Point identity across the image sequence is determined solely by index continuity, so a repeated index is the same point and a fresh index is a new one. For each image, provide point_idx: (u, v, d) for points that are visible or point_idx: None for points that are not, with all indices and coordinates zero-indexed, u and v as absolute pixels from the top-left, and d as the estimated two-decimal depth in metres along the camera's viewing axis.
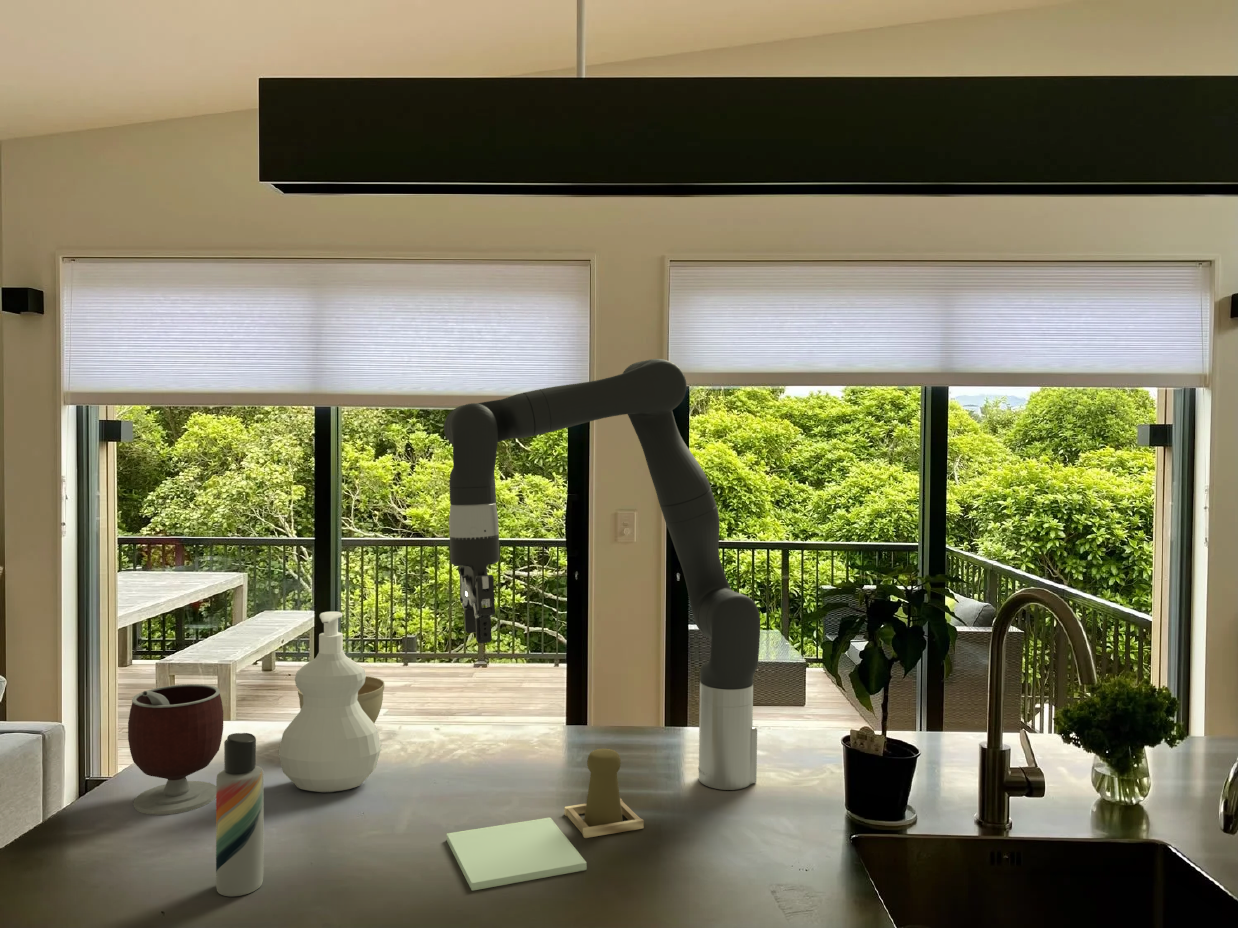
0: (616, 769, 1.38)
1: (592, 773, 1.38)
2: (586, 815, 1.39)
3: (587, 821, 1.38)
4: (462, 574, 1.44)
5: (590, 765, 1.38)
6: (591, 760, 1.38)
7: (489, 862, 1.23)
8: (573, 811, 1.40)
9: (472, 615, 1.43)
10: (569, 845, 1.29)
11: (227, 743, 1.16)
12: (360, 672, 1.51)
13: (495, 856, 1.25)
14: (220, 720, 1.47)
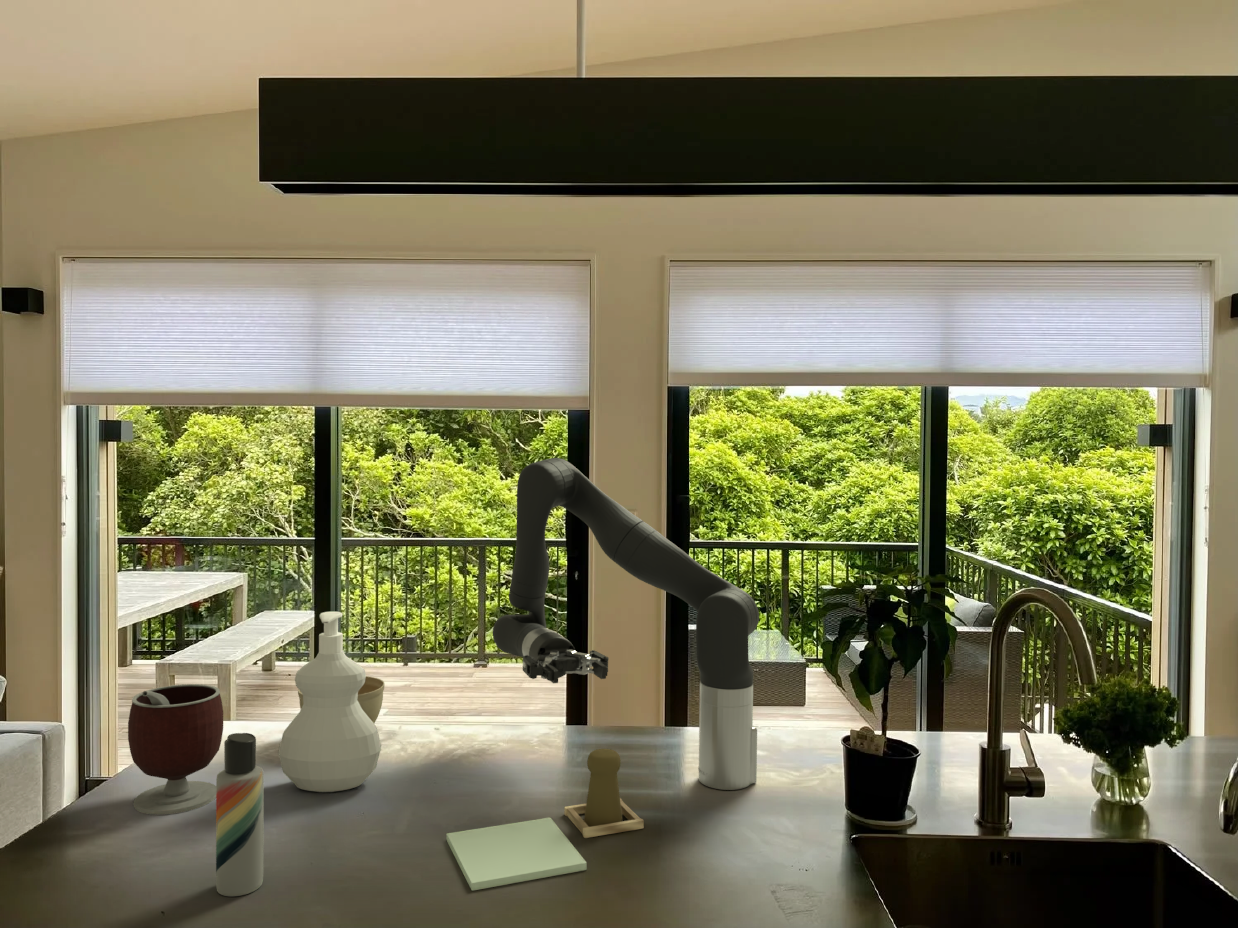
0: (616, 769, 1.38)
1: (592, 773, 1.38)
2: (586, 815, 1.39)
3: (587, 821, 1.38)
4: None
5: (590, 765, 1.38)
6: (591, 760, 1.38)
7: (489, 862, 1.23)
8: (573, 811, 1.40)
9: (596, 668, 1.53)
10: (569, 845, 1.29)
11: (227, 743, 1.16)
12: (360, 672, 1.51)
13: (495, 856, 1.25)
14: (220, 720, 1.47)
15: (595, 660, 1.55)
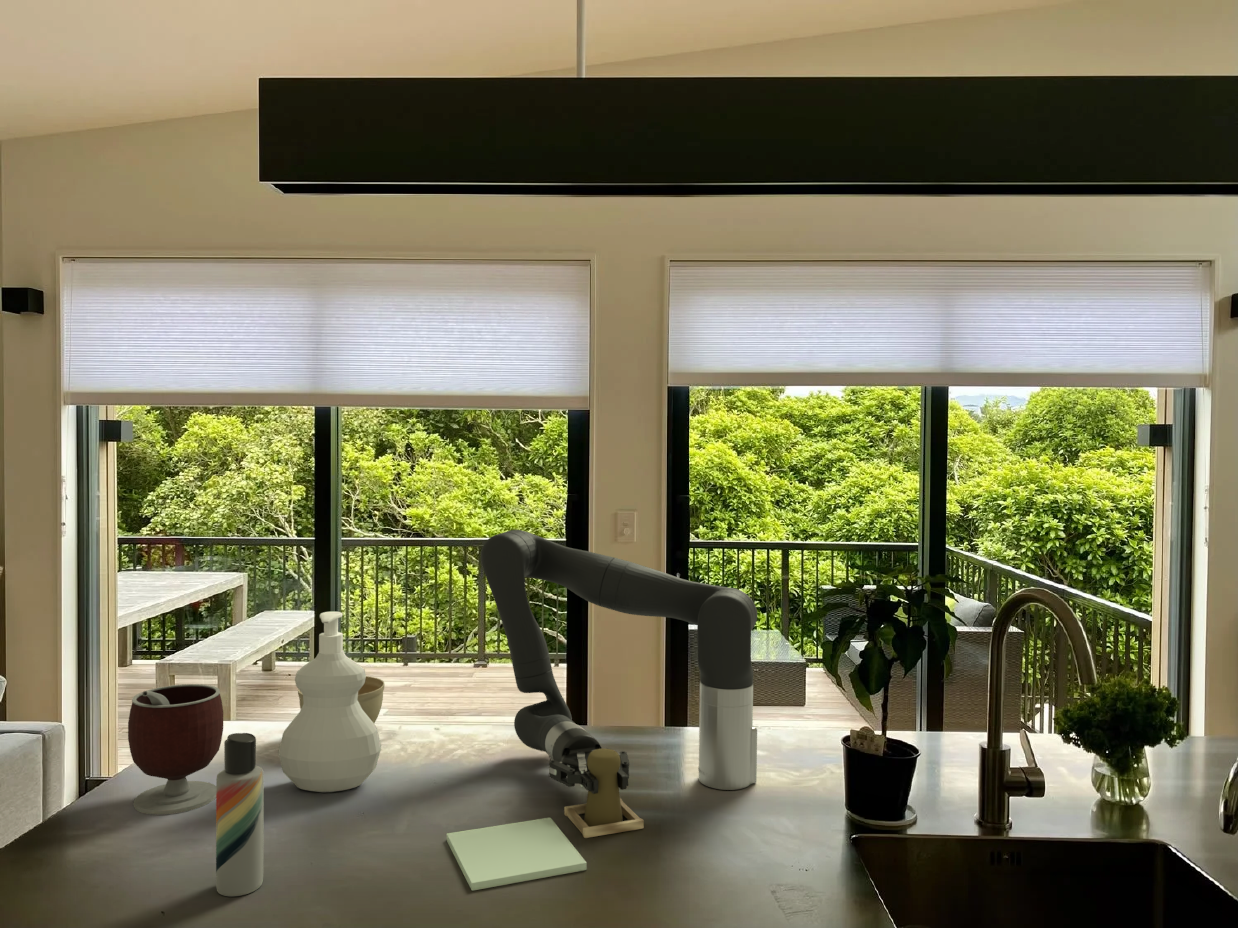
0: (616, 769, 1.38)
1: (592, 773, 1.38)
2: (586, 815, 1.39)
3: (587, 821, 1.38)
4: None
5: (590, 765, 1.38)
6: (591, 760, 1.38)
7: (489, 862, 1.23)
8: (573, 811, 1.40)
9: None
10: (569, 845, 1.29)
11: (227, 743, 1.16)
12: (360, 672, 1.51)
13: (495, 856, 1.25)
14: (220, 720, 1.47)
15: None
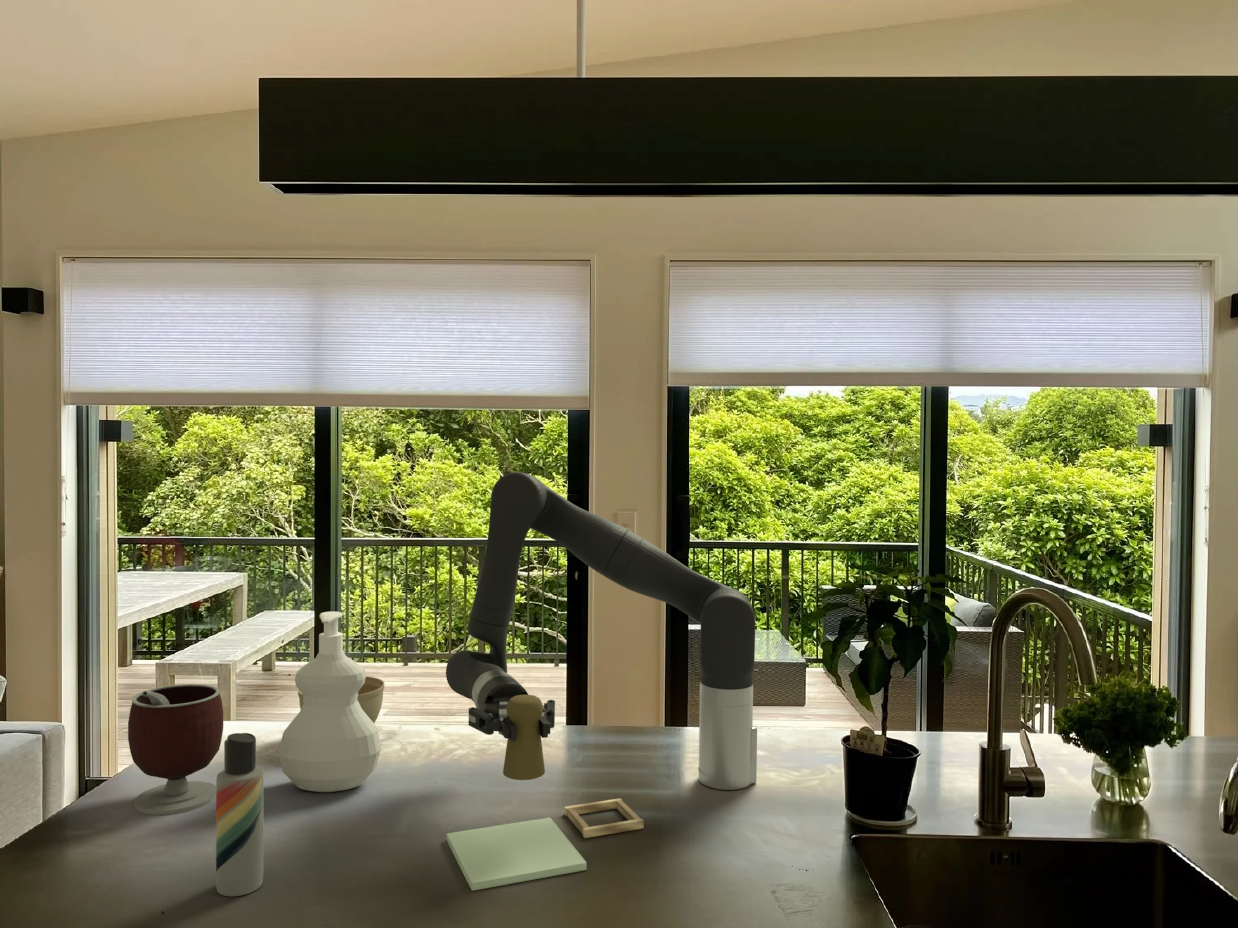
0: (537, 716, 1.28)
1: (511, 720, 1.28)
2: (505, 765, 1.29)
3: (505, 771, 1.28)
4: None
5: (509, 712, 1.28)
6: (510, 706, 1.28)
7: (489, 862, 1.23)
8: (573, 811, 1.40)
9: None
10: (569, 845, 1.29)
11: (227, 743, 1.16)
12: (360, 672, 1.51)
13: (495, 856, 1.25)
14: (220, 720, 1.47)
15: None
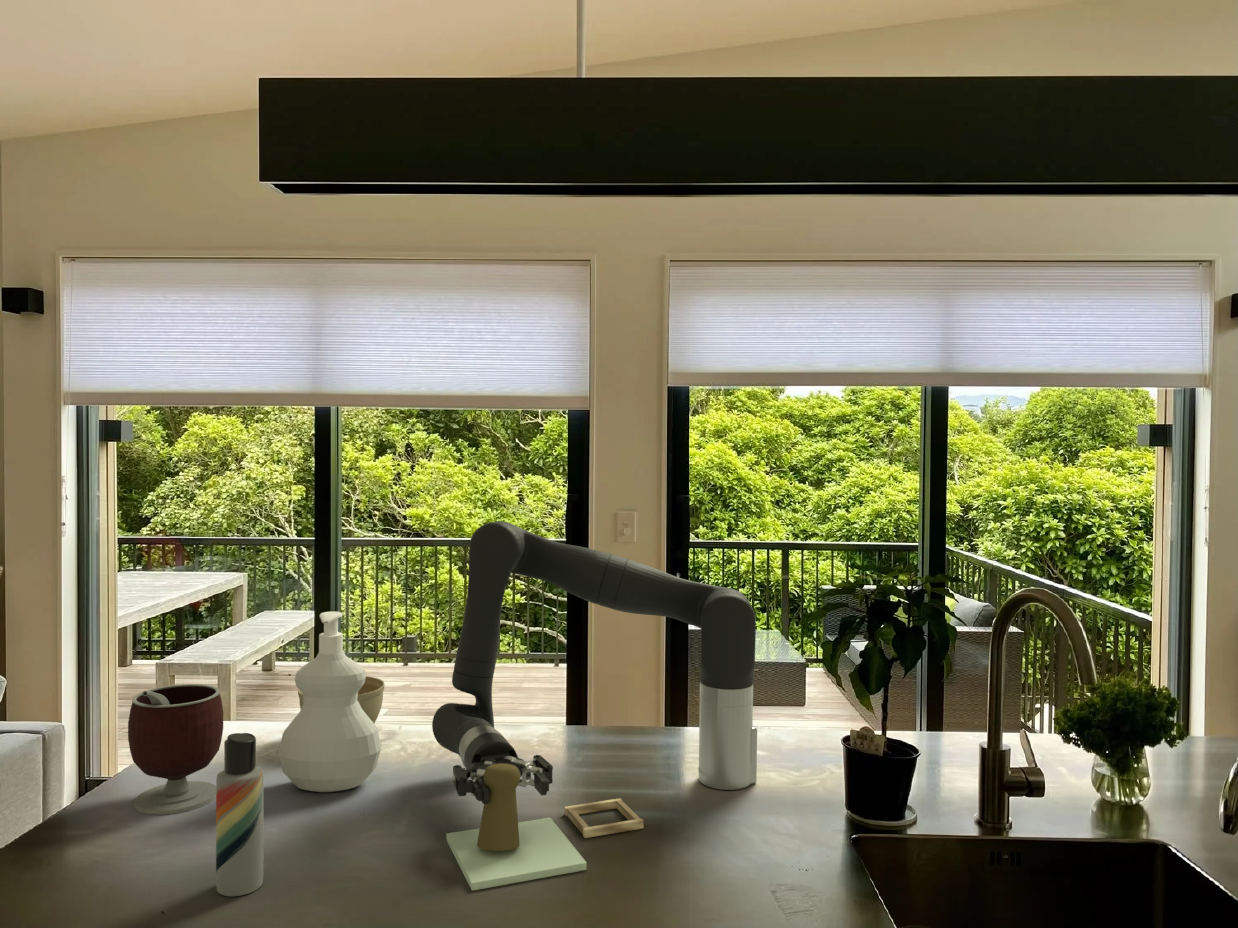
0: (514, 783, 1.27)
1: (488, 787, 1.28)
2: (479, 836, 1.27)
3: (479, 842, 1.26)
4: None
5: (486, 778, 1.27)
6: (487, 772, 1.28)
7: (489, 862, 1.23)
8: (573, 811, 1.40)
9: (536, 781, 1.31)
10: (569, 845, 1.29)
11: (227, 743, 1.16)
12: (360, 672, 1.51)
13: (495, 856, 1.25)
14: (220, 720, 1.47)
15: (536, 771, 1.33)
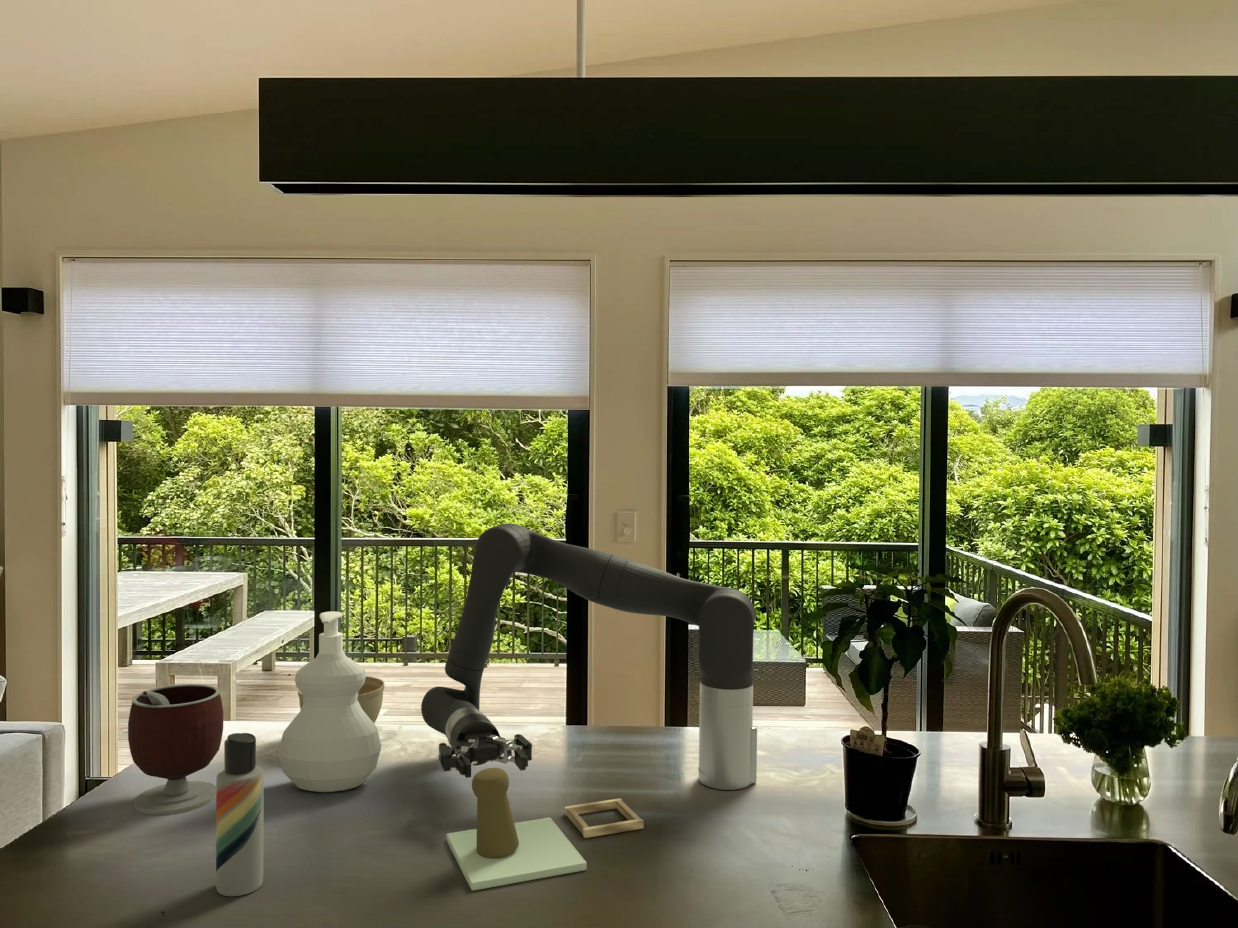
0: (503, 790, 1.25)
1: (478, 797, 1.26)
2: (477, 843, 1.26)
3: (479, 850, 1.26)
4: None
5: (474, 790, 1.25)
6: (475, 784, 1.25)
7: (489, 862, 1.23)
8: (573, 811, 1.40)
9: (516, 758, 1.41)
10: (569, 845, 1.29)
11: (227, 743, 1.16)
12: (360, 672, 1.51)
13: None
14: (220, 720, 1.47)
15: (516, 748, 1.42)
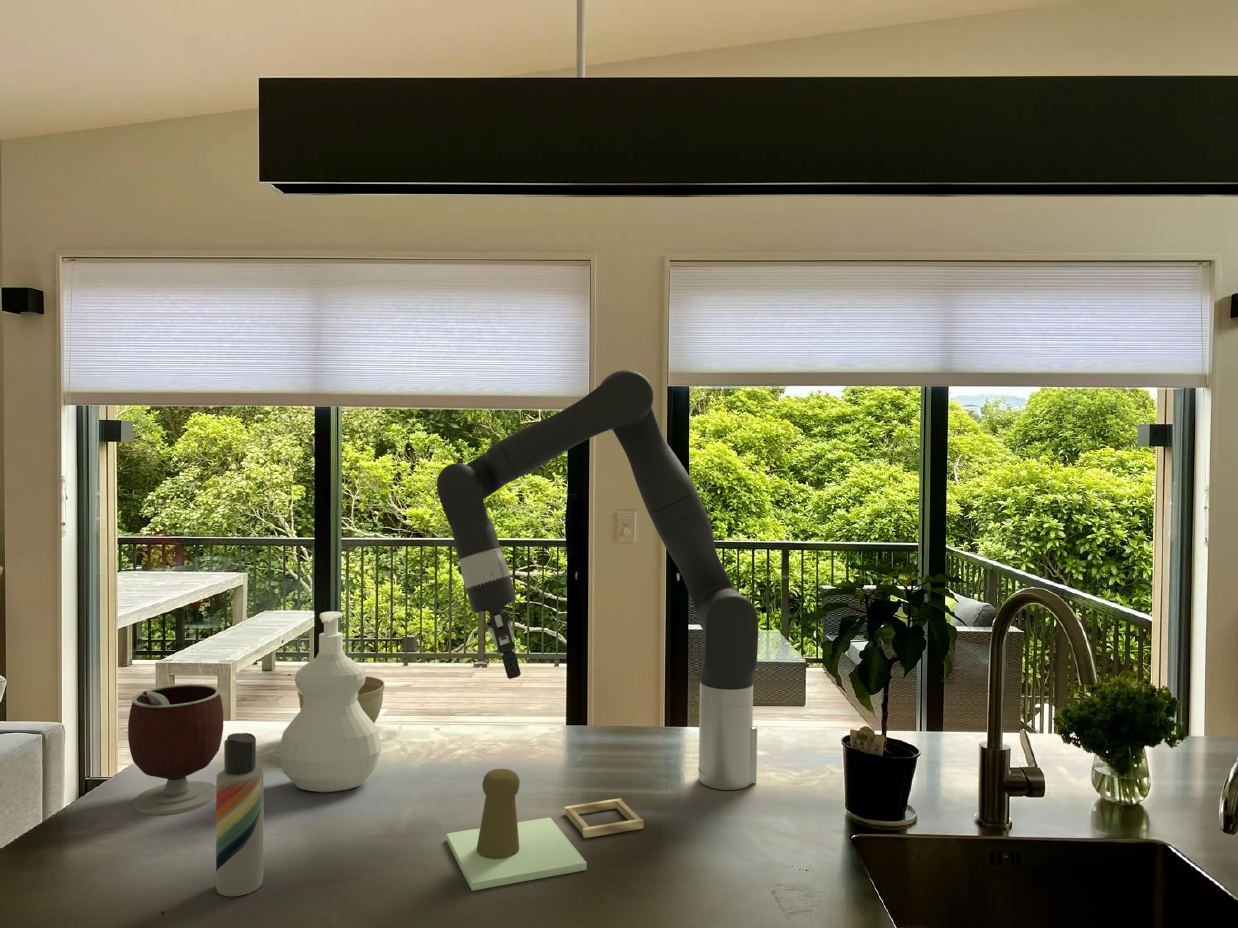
0: (514, 792, 1.26)
1: (487, 796, 1.26)
2: (479, 842, 1.26)
3: (480, 849, 1.26)
4: None
5: (485, 788, 1.25)
6: (487, 782, 1.25)
7: (489, 862, 1.23)
8: (573, 811, 1.40)
9: None
10: (569, 845, 1.29)
11: (227, 743, 1.16)
12: (360, 672, 1.51)
13: None
14: (220, 720, 1.47)
15: None
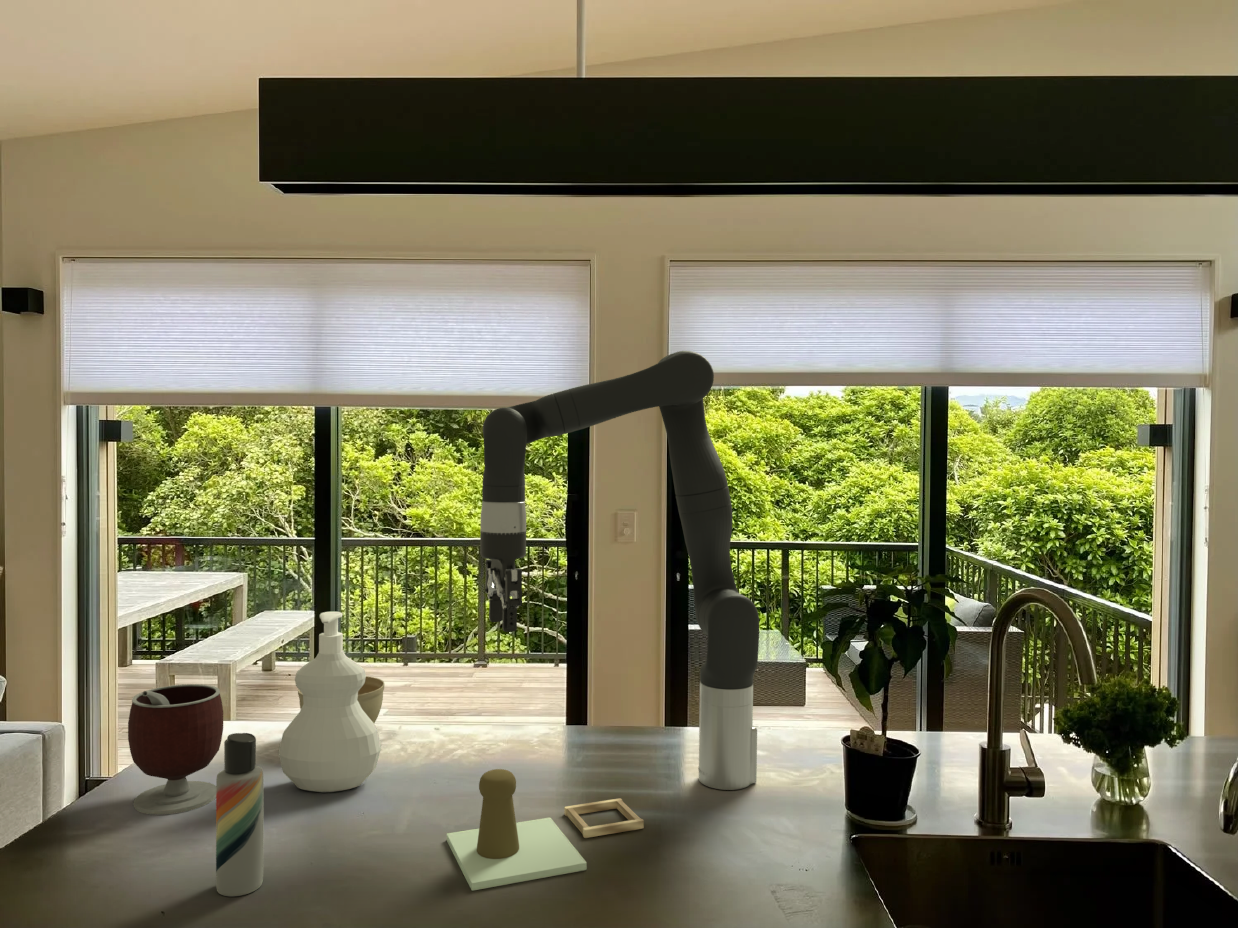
0: (511, 792, 1.26)
1: (485, 798, 1.26)
2: (479, 844, 1.26)
3: (480, 850, 1.26)
4: (488, 566, 1.54)
5: (482, 790, 1.25)
6: (483, 784, 1.25)
7: (489, 862, 1.23)
8: (573, 811, 1.40)
9: (496, 605, 1.53)
10: (569, 845, 1.29)
11: (227, 743, 1.16)
12: (360, 672, 1.51)
13: None
14: (220, 720, 1.47)
15: None
